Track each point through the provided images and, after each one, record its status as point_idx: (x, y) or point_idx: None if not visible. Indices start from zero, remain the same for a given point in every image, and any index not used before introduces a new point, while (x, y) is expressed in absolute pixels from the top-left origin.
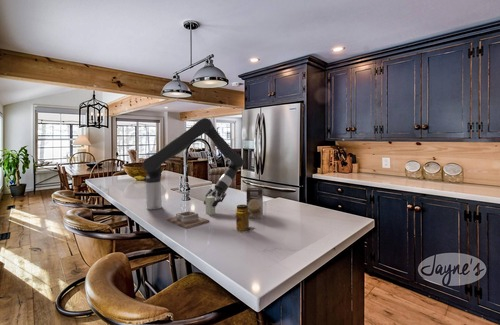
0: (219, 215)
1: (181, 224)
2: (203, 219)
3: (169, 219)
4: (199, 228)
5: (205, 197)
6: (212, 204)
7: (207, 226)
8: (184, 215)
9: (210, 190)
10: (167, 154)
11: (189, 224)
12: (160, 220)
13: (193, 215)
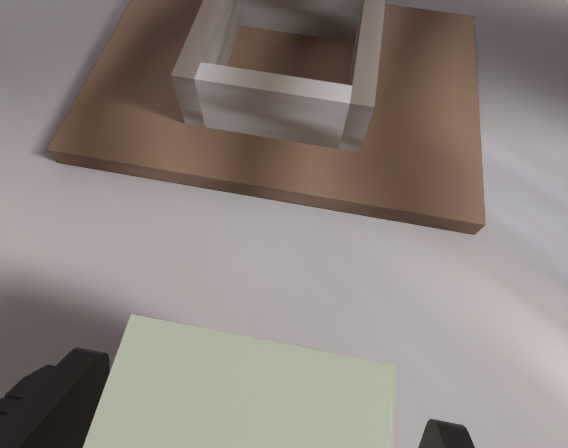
0: None
1: None
2: (119, 135)
3: (419, 9)
4: (48, 23)
5: (388, 366)
6: (90, 361)
7: (3, 75)
8: (352, 66)
9: None
10: None
11: (155, 3)
12: (495, 9)
13: (193, 34)
